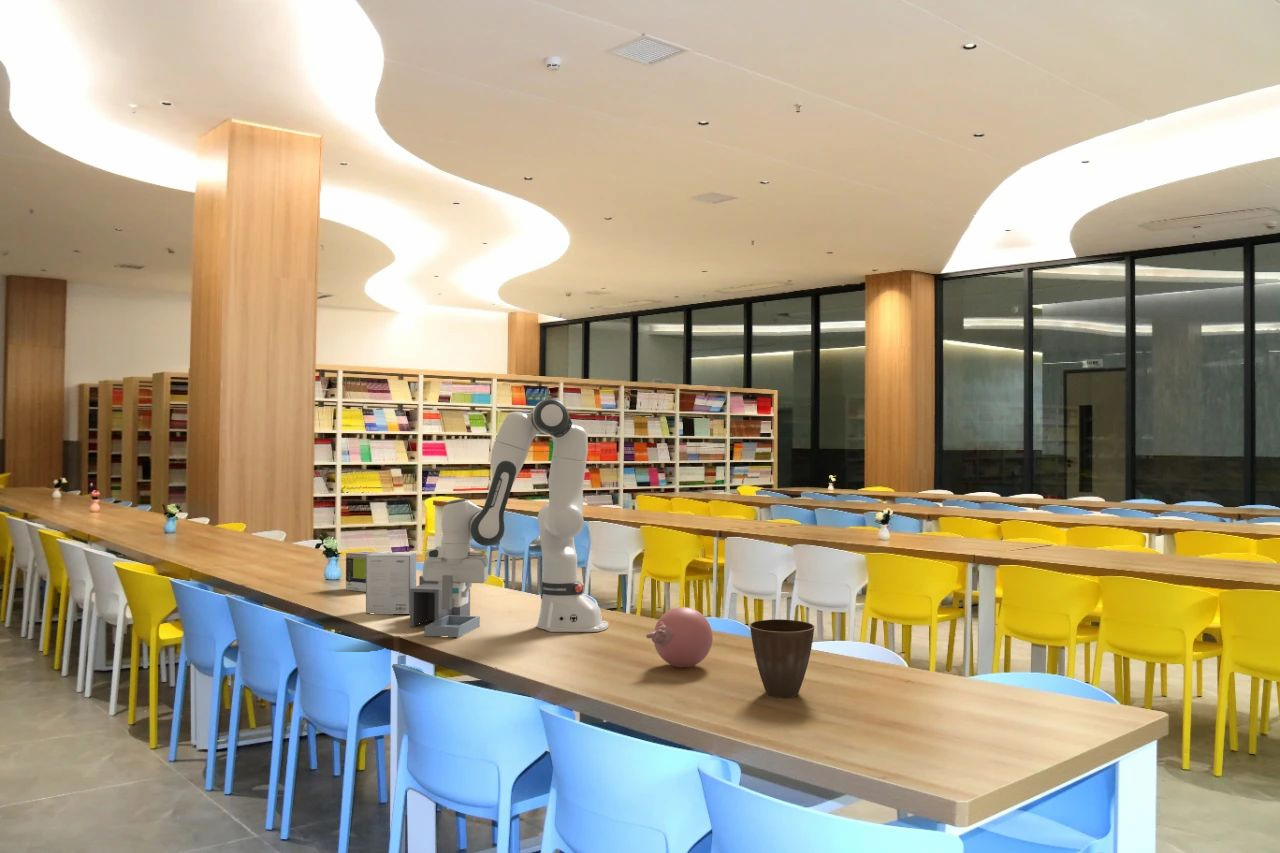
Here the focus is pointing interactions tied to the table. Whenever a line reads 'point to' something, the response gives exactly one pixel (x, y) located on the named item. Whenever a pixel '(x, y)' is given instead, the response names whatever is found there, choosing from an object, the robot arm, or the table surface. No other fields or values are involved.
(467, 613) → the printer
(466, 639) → the table surface
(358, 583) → the tea box
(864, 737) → the table surface
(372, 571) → the hard drive box
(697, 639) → the pink balloon
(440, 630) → the tray
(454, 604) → the white box teal stripe
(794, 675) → the plant pot
